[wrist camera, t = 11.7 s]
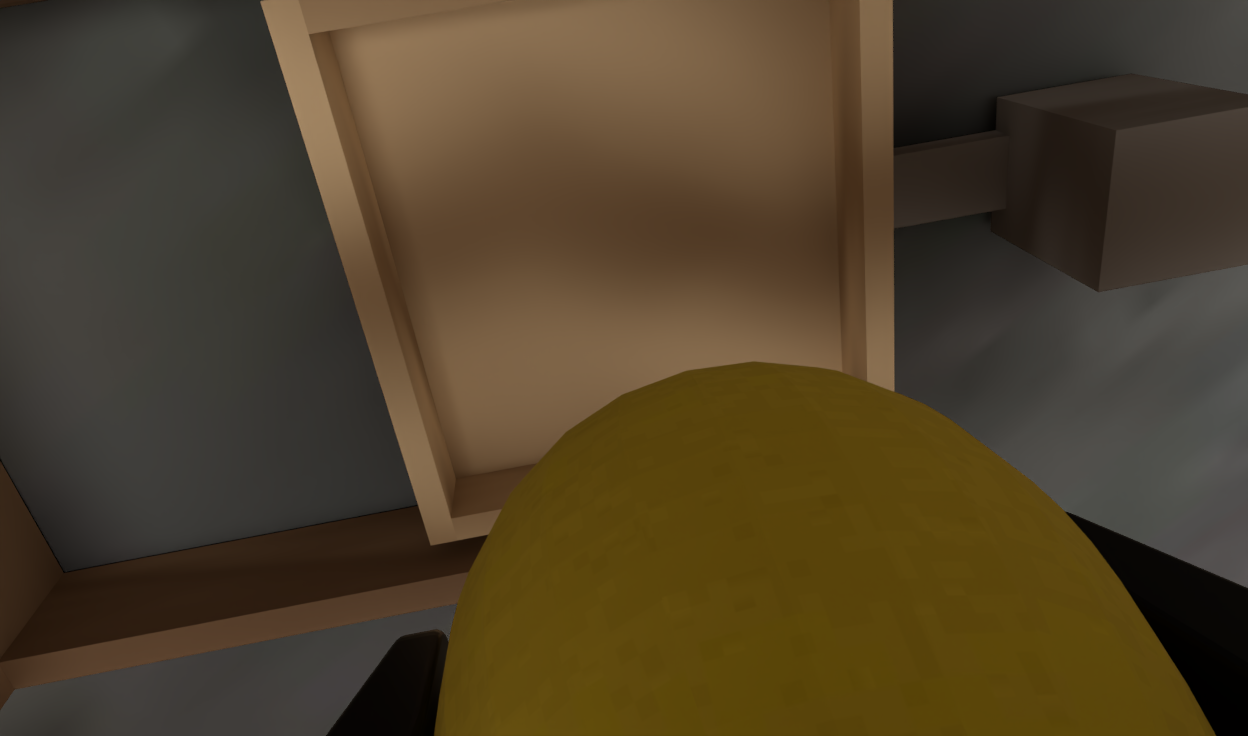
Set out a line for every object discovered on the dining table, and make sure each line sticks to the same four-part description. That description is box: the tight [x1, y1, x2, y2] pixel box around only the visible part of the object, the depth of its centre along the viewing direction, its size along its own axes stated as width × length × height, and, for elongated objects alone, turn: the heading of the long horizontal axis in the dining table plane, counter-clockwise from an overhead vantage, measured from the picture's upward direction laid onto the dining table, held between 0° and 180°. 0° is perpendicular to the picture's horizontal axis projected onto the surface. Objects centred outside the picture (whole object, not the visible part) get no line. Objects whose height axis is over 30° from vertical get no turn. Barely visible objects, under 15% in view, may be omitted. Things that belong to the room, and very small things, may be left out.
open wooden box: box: [0, 0, 488, 710], centre depth 14 cm, size 14×13×9 cm
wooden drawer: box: [260, 0, 1248, 545], centre depth 17 cm, size 11×17×4 cm, turn 98°
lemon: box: [434, 361, 1216, 736], centre depth 7 cm, size 6×6×8 cm
